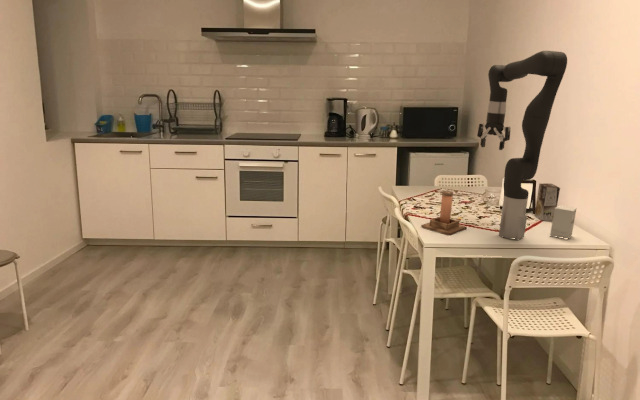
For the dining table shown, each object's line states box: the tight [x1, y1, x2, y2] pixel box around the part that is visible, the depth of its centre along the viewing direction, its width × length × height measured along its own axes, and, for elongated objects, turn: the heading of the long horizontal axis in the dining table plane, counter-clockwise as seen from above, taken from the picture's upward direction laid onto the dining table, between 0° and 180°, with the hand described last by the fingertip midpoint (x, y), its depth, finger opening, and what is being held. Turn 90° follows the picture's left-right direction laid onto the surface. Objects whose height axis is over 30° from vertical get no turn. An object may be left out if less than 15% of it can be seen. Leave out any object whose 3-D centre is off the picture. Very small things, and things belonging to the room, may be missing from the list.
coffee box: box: [534, 182, 561, 222], centre depth 245 cm, size 9×6×16 cm
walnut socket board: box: [420, 216, 468, 236], centre depth 225 cm, size 14×14×4 cm
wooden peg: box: [439, 190, 454, 224], centre depth 223 cm, size 5×5×15 cm
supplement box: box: [550, 204, 577, 239], centre depth 219 cm, size 7×7×13 cm
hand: (491, 148), depth 233 cm, fingers open, 8 cm apart
